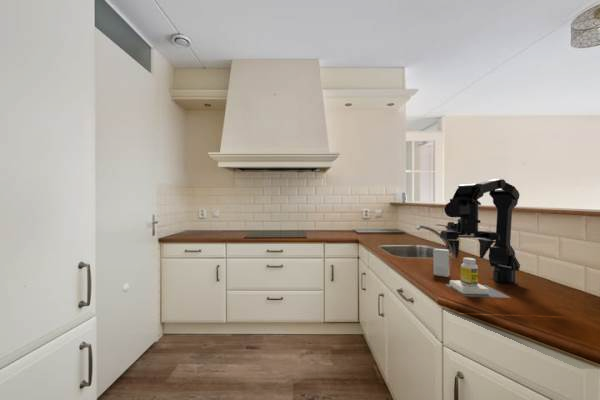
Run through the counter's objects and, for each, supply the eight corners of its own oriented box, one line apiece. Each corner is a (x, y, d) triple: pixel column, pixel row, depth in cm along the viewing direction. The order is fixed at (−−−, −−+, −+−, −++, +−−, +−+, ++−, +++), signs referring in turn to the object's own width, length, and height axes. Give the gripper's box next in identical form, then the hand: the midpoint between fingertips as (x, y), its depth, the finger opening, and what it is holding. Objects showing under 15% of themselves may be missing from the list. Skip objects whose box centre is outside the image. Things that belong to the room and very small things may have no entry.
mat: (486, 286, 101) (486, 285, 101) (511, 298, 88) (511, 297, 88) (445, 285, 102) (445, 284, 102) (463, 297, 89) (463, 296, 89)
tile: (473, 280, 99) (449, 280, 100) (488, 288, 90) (462, 288, 91) (473, 286, 99) (449, 285, 100) (488, 295, 90) (462, 294, 91)
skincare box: (449, 275, 115) (449, 249, 115) (448, 278, 111) (448, 250, 111) (434, 273, 119) (434, 247, 119) (432, 275, 115) (432, 249, 115)
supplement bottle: (472, 287, 91) (472, 260, 91) (457, 283, 96) (457, 257, 96) (480, 285, 94) (481, 259, 94) (465, 281, 99) (465, 256, 99)
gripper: (480, 216, 103) (480, 254, 102) (433, 215, 104) (433, 253, 104) (500, 217, 91) (500, 260, 91) (447, 217, 93) (447, 259, 93)
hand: (468, 257), depth 95 cm, fingers open, 9 cm apart
